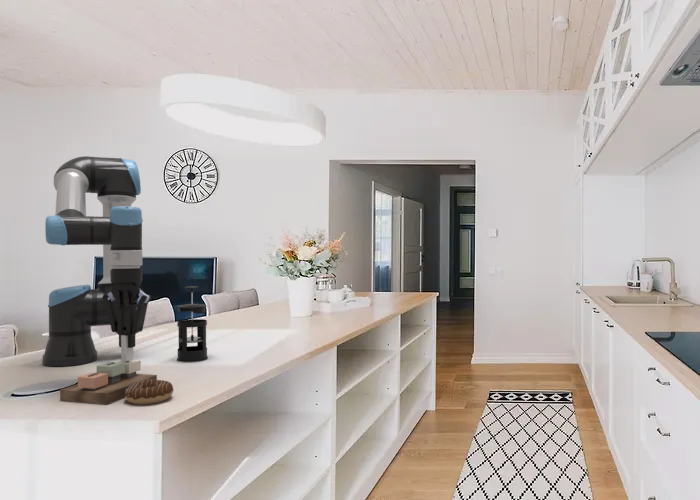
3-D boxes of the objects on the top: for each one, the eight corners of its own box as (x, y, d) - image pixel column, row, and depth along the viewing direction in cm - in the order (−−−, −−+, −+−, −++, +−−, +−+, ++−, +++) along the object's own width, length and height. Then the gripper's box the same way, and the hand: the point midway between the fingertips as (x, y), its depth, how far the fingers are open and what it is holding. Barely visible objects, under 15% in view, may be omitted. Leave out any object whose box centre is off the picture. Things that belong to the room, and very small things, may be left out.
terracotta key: (77, 387, 124) (77, 376, 124) (92, 382, 128) (91, 371, 128) (94, 388, 122) (94, 377, 122) (108, 383, 127) (107, 372, 127)
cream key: (113, 372, 135) (113, 362, 135) (125, 368, 140) (125, 358, 140) (129, 373, 134) (128, 363, 134) (140, 369, 138) (140, 359, 138)
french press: (196, 363, 163) (195, 287, 163) (169, 361, 166) (168, 287, 166) (216, 355, 174) (215, 285, 174) (190, 354, 177) (190, 284, 177)
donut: (183, 396, 127) (183, 379, 127) (150, 409, 118) (150, 390, 118) (148, 392, 132) (148, 375, 132) (114, 403, 122) (114, 386, 122)
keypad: (60, 400, 124) (60, 381, 124) (113, 381, 141) (113, 365, 141) (107, 404, 121) (107, 385, 121) (156, 384, 138) (156, 367, 138)
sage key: (96, 375, 129) (96, 364, 129) (109, 371, 134) (109, 361, 134) (112, 376, 128) (112, 365, 128) (124, 372, 133) (124, 362, 133)
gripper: (94, 268, 135) (95, 362, 135) (139, 268, 131) (139, 364, 131) (114, 267, 142) (115, 356, 142) (157, 267, 139) (158, 358, 138)
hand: (127, 360), depth 137 cm, fingers closed
